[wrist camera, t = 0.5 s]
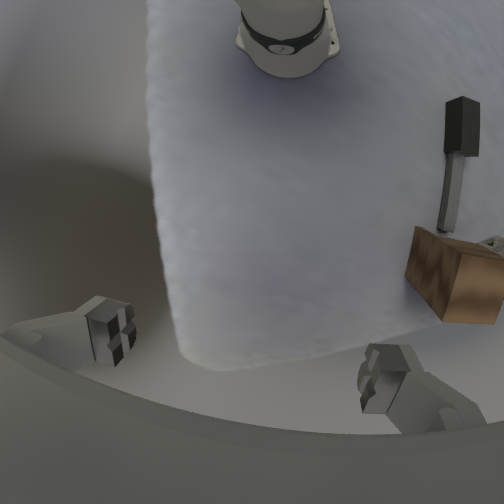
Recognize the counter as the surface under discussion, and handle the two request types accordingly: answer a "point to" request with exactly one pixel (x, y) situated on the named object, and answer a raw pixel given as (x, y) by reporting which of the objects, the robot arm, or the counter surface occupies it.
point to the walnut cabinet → (456, 278)
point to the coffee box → (494, 244)
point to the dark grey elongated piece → (458, 153)
